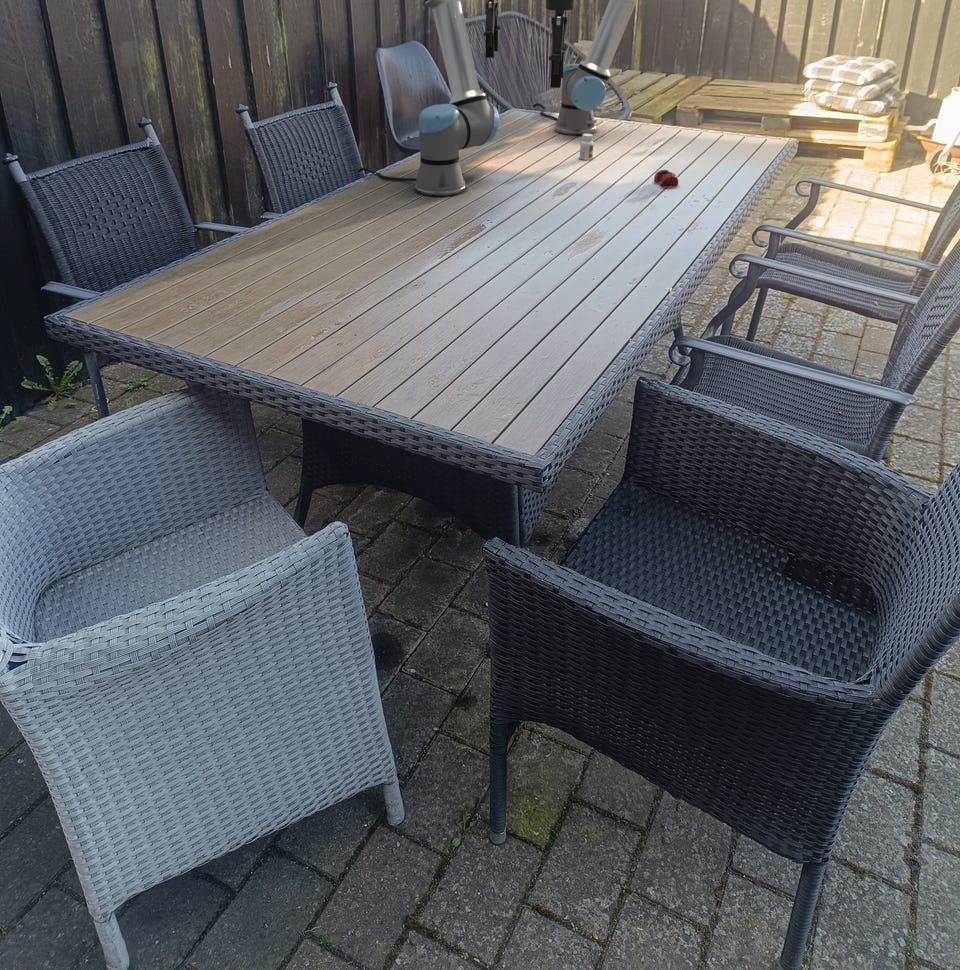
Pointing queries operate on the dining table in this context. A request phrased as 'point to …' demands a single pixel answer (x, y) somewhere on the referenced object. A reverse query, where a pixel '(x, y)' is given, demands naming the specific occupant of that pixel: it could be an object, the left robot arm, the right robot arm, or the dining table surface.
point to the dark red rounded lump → (666, 178)
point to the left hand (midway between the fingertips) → (556, 82)
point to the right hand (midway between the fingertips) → (491, 54)
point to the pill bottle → (586, 147)
